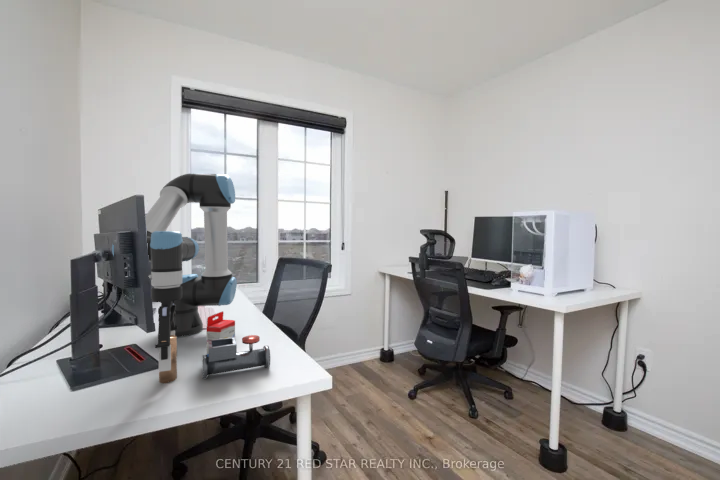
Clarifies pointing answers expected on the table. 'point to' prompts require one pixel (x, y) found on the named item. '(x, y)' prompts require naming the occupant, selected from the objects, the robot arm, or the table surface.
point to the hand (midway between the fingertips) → (167, 361)
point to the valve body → (234, 356)
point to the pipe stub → (171, 374)
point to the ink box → (219, 328)
